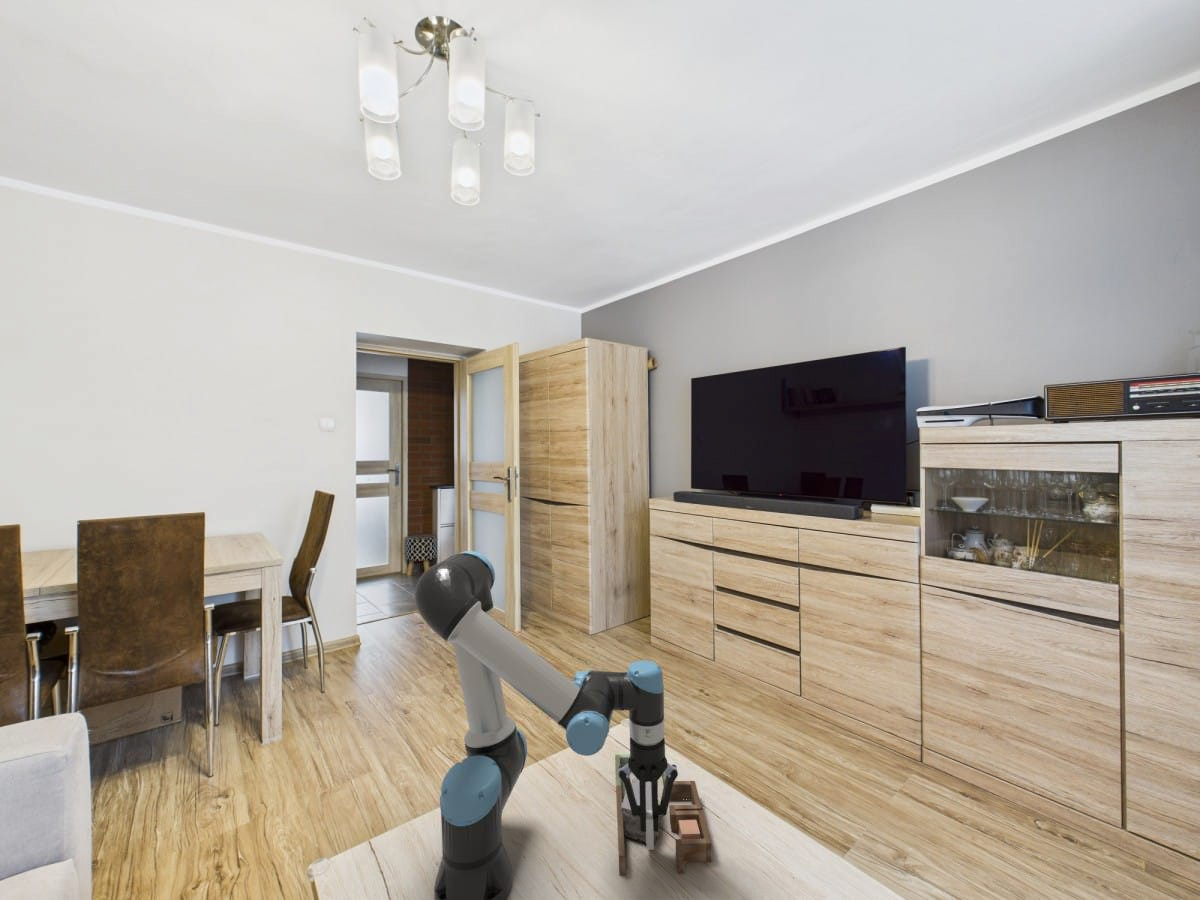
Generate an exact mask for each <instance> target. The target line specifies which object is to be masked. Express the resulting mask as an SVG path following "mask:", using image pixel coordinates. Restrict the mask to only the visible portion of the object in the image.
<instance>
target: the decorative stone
mask: <svg viewBox="0 0 1200 900" xmlns="http://www.w3.org/2000/svg"><path fill="white" fill-rule="evenodd" d="M631 784H632V788H633V792H634V795H635V799H636V803H637V805H639V806H640V792H639V780H638V779H637V778H636V776H635V775H634V777H633V779H632V780H631ZM623 797H624V798H622V804H621V811H622V814H623V832H624V835H625V836H626V838H627V837H628V838H630V839H632V840H635V841H639V842H643V843H645V844H646V832H642V831H641V826H640V817H639V816H638V815H637V816H633V815H632V811H631V808H630V804H629V800H628V797H627V793H626V792H625V794H624V796H623ZM646 810H652V797H651V782H649V781H648V782H646ZM659 824H660V823H659V822H658V828H659V829H658V832H653V835H654V843H656V841H657V840H658V838H659V833H660V825H659Z"/></svg>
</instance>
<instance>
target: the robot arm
mask: <svg viewBox="0 0 1200 900" xmlns="http://www.w3.org/2000/svg"><path fill="white" fill-rule="evenodd" d="M495 579H496V573H495V568H494V566H493V564H492V562H491V561H490V560H489V559H488V558H487V557H486V556H484V555H483V554H482V553H479V552H477V551H474V550H473V551H471V550H466V551H461V552H458V553H454V554H452V555H450V556H448V558H446V559H444V560H442V561H440V562H439V563H437V564H434V565H433V566H430V567H429V568H428V569H426V570H425V571H424V572H423V573H422V575H421V576H420V577H419V579H418V581H417V583H416V585H415V589H414V590H415V592H414V600H415V601H414V603H415V606H416V608H417V610H418V613H419V615H420V616H421V619H423V620H424V622H425V623H426V624H427V625H428V627H429V628H430V629H432V631H433V632H434V633H435V634H437V636H439V637H440V638H442V639H443V640H444V642H446V643H448V644H451V643H452V644H453V649H454V654H455V660H456V664H457V665H456V666H457V671H458V674H459V681H460V686H461V691H462V698H463V702H464V708H465V713H466V718H467V724H468V730H467V732H466V733H465V735H464V737H463V742H464V746H465V751H466V752H465V753H466V758H463V759H462V762H460V761H458V762H456V763H455V764H454V765H452V766H451V767H450V769H448V771H447V772H446V773H445V775H444V777H443V779H442V783H441V788H440V796H439V806H440V807H439V808H440V819H441V820H440V823H441V824H440V825H441V846H442V849H441V850H442V851H441V852H442V856H441V860H440V863H439V867H438V869H437V870H438V871H437V874H436V877H435V881H434V886H433V887H434V889H433V890H434V891H433V893H434V895H433V896H434V899H435V900H505V899H506V898H508V897H509V895H510V893H511V890H512V886H513V871H512V870H513V869H512V865H511V861H510V858H509V855H508V854H507V851H506V848H505V845H504V843H503V826H502V825H503V824H502V823H503V822H502V818H503V817H502V816H503V811H504V808H505V806H506V805H507V802H508V800H509V798H510V795H511V793H512V791H513V790H514V788H515V785H516V784H517V782H518V780H519V778H520V776H521V774H522V772H523V770H524V767H525V765H526V760H527V756H528V755H527V754H528V745H527V740H526V736H525V735H524V733H523V732H522V730H520V729H518V728H517V725H516V722H515V720H514V718H512V717H510V716H509V715H508V714H507V709H506V703H505V698H504V693H503V687H502V682H501V680H503V681H504V682H505V683H507V684H508V685H509V686H510V687H512V688H513V689H514V690H516V691H517V692H518V693H519V694H520V695H522V696H523V697H524V698H525V699H527V701H530V702H531V703H532V704H533V705H534V706H536V707H537V708H538V709H539V710H540V711H542V712H543V713H544V714H546V715H547V716H548V717H549V718H550V719H552V720H553V721H554V722H555V723H557V725H559V726H560V727H561V728H562V729H564V730H565V738H566V739H565V740H566V742H567V744H568V745H569V749H571V750H572V751H573V752H574V753H576V754H577V755H579V756H585V757H586V756H587V757H588V756H593V755H595V754H597V753H598V752H599V751H601V750H602V749H603V747H604V745H605V742H606V739H607V737H608V736H609V733H610V724H611V719H612V716H613V713H614V711H621V712H623V711H628V713H629V714H628V717H629V718H628V719H629V722H628V724H629V725H628V726H629V754H630V758H629V760H628V764H626V765H625V766H622V765H621V766H619V777H620V778H621V782H623V785H624V788H625V794H626V793H627V797H628V800H629V804H630V808H631V811H632V815H633V816H637V815H638V816H639V817H640V826H641V831H642V832H646V843H645V844H646V850H647V851H648V850H649V851H650V850H655V845H654V835H653V832H658V829H659V830H660V827H659V828H658V823H659V819H660V818H659V817H660V816H666V815H667V814H668V810H669V805H670V801H671V800H670V796H671V791H672V787H673V782H674V781H676V780H677V778H678V776H679V772H678V768H677V767H678V766H677V765H676V764H670V763H669V762H668V759H667V757H666V743H665V742H666V739H665V697H664V696H665V692H664V691H665V689H664V686H665V685H664V677H663V676H664V675H663V670H662V667H661V666H660V665H659V664H658V663H656V662H654V661H651V660H644V659H643V660H639V661H636V660H635V661H634V662H631V663H630V664H629V665H628V667H627V669H628V670H627V671H625V672H624V671H623V672H622V671H621V672H619V671H605V670H604V671H603V670H594V669H591V670H578V671H577V672H576V673H575V675H574V677H573V681H572V680H570V679H569V678H568V677H566V676H565V674H563V673H561V672H560V670H558V669H557V668H556V667H554V666H553V665H551V664H550V662H548V661H546V660H545V659H544V658H543V657H542V656H540V655H539V654H538V653H537V652H535V651H534V650H533V649H532V648H530V647H529V646H528V645H526V643H524V642H523V641H522V640H520V639H519V638H518V637H516V636H515V635H514V634H512V632H510V630H508V629H506V628H505V627H504V626H503V625H501V624H500V623H499V622H498V621H496V620H495V619H494V618H493V617H492V616H490V614H491V612H492V611H493V609H494V602H493V597H492V591H491V590H492V589H493V587H494V584H495ZM630 770H631V771H632V772H630ZM665 770H666V779H665V783H664V786H663V789H662V795H661V797H660V803H659V796H658V795H659V794H658V793H659V789H658V787H659V785H658V784H659V782H658V780H660V779H661V778H662V774H663V773H664V771H665ZM631 773H632V774H633V775H634V777H635V776H636V778H637V779H638V780H639V792H640V806H639V805H637V803H636V799H635V795H634V792H633V788H632V780H631V777H630V776H631ZM648 781H649V782H651V797H652V810H646V782H648ZM669 800H670V801H669ZM434 899H433V900H434ZM506 900H507V899H506Z"/></svg>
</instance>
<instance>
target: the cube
mask: <svg viewBox="0 0 1200 900" xmlns="http://www.w3.org/2000/svg"><path fill="white" fill-rule="evenodd" d="M678 839H700V832H699V828H698V824H697V820H679V832H678Z"/></svg>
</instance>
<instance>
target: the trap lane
mask: <svg viewBox="0 0 1200 900" xmlns="http://www.w3.org/2000/svg"><path fill="white" fill-rule="evenodd" d="M629 758H630V753H628V754H627V753H626V754H615V755H614V759H615V760H614V763H615V764H614V765H615V770H614V771H615V795H616V798H615V799H616V819H617V821H616V822H617V844H618V845H617V849H618V853H617V854H618V871H619V872H618V874H619V876H621V875H622V876H625V875H626V857H625V854H626V853H625V832H624V818H623V814H622V811H621V804H622V803H623V796H622V795H623V794H622V780H621V778H620V777H619V766H621V765H622V766H625V765H626V764H628V760H629ZM630 773H632V771H631V770H630ZM661 779H662V780H663V781H662V785H663V787H664V783H665V779H666V770H665V771H664V773H663V774H662V776H661ZM683 799H684V800H683ZM686 799H687V800H686ZM689 799H690V800H689ZM700 799H701V798H700V795H699V791H698V787H697V784H696V781H695V780H675V781H674V782H673V787H672V791H671V796H670V800H669V802H670V801H692V802H691V804H673V805H672V804H669V805H668V811H669V826H670V830H671V833H679V820H697V824H698V828H699V832H700V839H679V838H675V860H676V866H677V871H678V875H682V874H683V875H685V863H708V862H709V863H711V862H713V860H712V859H713V857H712V855H713V853H712V850H713V849H712V847H713V846H712V841H711V837H710V833H709V829H708V826H707V821H706V819H705V813H704V811H703V806H702V802H701V800H700Z"/></svg>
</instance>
